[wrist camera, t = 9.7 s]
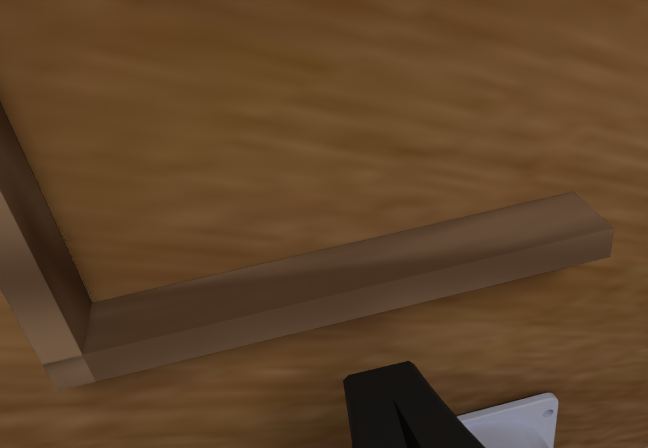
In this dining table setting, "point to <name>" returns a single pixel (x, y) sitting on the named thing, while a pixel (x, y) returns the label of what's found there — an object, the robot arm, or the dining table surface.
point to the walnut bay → (262, 280)
